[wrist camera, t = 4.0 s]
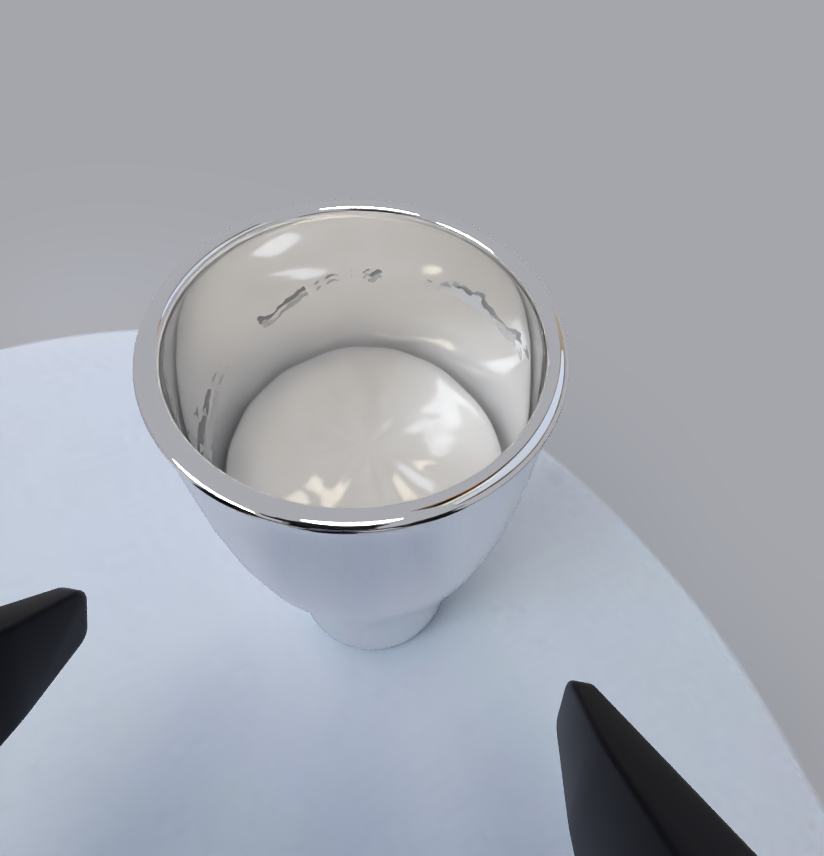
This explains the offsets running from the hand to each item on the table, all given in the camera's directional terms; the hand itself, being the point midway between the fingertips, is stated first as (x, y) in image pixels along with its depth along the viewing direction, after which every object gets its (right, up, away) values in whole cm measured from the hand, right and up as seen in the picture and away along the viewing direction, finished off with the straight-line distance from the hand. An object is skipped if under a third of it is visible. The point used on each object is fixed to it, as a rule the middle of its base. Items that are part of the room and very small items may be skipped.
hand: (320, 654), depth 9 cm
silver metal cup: (0, -2, +12) cm, 12 cm away
